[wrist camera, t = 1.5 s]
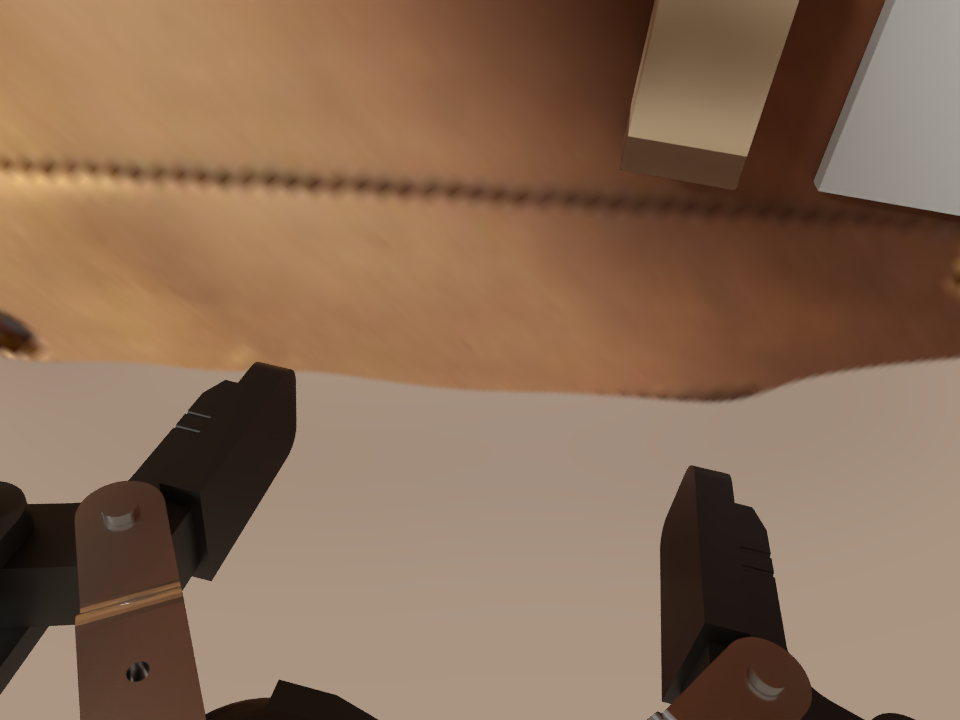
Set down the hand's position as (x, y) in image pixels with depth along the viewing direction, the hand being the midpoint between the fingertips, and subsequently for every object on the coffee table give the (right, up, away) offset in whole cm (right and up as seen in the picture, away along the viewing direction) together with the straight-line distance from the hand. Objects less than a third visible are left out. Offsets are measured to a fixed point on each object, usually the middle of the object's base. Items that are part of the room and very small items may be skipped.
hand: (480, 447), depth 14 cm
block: (+8, +13, +11) cm, 19 cm away
